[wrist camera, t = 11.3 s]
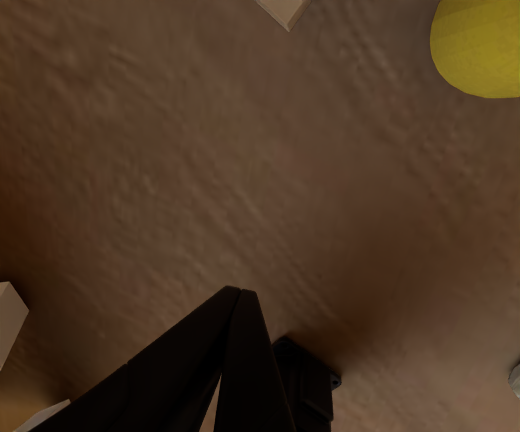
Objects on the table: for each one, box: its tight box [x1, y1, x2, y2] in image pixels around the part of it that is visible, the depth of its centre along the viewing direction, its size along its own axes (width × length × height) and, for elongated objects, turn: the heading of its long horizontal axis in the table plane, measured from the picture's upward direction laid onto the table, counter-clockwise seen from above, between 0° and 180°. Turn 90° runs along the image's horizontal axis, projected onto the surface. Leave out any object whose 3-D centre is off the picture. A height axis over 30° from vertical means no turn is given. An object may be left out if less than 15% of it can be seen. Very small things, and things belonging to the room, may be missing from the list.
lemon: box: [430, 0, 520, 98], centre depth 11 cm, size 6×6×8 cm
